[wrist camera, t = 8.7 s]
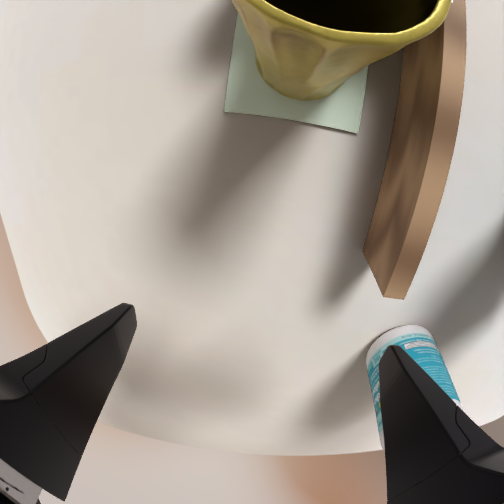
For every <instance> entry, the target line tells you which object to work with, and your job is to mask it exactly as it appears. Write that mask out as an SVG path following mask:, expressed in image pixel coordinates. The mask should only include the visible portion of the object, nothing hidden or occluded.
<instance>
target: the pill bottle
mask: <svg viewBox="0 0 504 504" xmlns="http://www.w3.org/2000/svg"><path fill="white" fill-rule="evenodd" d="M389 345H399V346H400V347H402V348H403V349H404V350H405V351H406V352H407V353H408V354H409V355H410V356H411V357H412V358H413V360H414V361H415V362H416V363H417V364H418V365H419V366H420V367H421V368H422V369H423V370H424V371H425V372H426V373H427V374H428V375H429V376H430V377H431V378H432V379H433V380H434V381H435V382H436V383H437V384H438V385H439V386H440V387H441V388H442V389H443V390H444V391H445V392H446V394H447V395H448V396H449V397H450V398H451V399H452V400H453V401H454V402H455V403H456V404H457V405H458V406H459V407H460V408H461V409H462V406H461V403H460V400H459V397H458V395H457V392H456V390H455V387H454V385H453V382H452V380H451V377H450V375H449V373H448V370H447V368H446V365H445V363H444V361H443V358H442V356H441V354H440V352H439V349H438V347H437V345H436V343H435V341H434V339H433V337H432V335H431V333H430V332H429V331H428V330H427V329H425V328H424V327H422V326H418V325H404V326H400V327H397V328H394V329H392V330H390V331H388V332H386V333H384V334H383V335H381V336H380V337H379V338H378V339H377V340H376V341H375V342H374V343H373V344H372V345H371V347H370V349H369V351H368V353H367V357H366V366H367V370H368V375H369V381H370V385H371V390H372V396H373V401H374V406H375V412H376V417H377V423H378V430H379V436H380V442H381V446H382V448H383V450H384V451H385V446H384V435H383V425H382V416H381V408H380V391H379V361H380V359H381V357H382V355H383V354H384V352H385V350H386V348H387V347H388V346H389ZM457 405H456V406H457ZM462 411H463V409H462Z"/></svg>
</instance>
